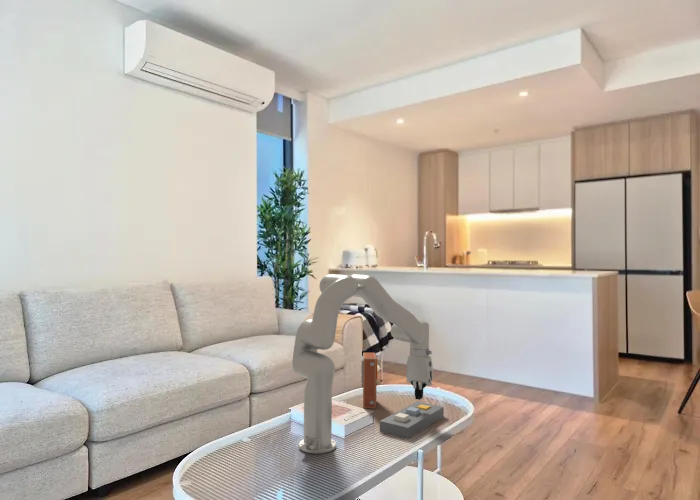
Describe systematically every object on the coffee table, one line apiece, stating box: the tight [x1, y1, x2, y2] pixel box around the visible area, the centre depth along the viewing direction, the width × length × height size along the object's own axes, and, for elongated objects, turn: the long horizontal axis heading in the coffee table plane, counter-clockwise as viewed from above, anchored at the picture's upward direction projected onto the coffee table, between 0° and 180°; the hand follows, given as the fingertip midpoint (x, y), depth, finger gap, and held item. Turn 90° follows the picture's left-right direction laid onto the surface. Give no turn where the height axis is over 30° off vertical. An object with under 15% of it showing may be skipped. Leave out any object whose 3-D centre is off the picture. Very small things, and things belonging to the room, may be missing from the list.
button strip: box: [379, 401, 445, 440], centre depth 188 cm, size 30×12×4 cm, turn 145°
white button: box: [394, 413, 409, 423], centre depth 181 cm, size 4×4×3 cm
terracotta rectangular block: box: [360, 352, 378, 409], centre depth 213 cm, size 21×7×15 cm
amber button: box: [417, 404, 430, 410], centre depth 196 cm, size 4×4×3 cm
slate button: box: [406, 407, 420, 416], centre depth 188 cm, size 4×4×3 cm
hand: (418, 398), depth 192 cm, fingers closed
